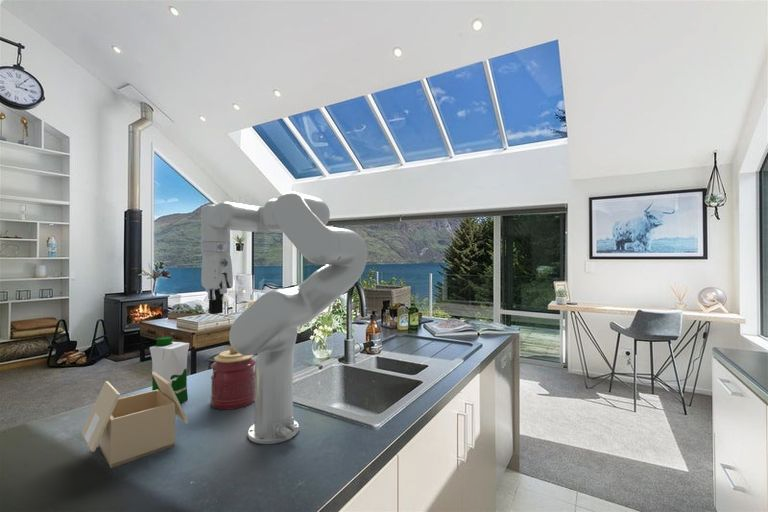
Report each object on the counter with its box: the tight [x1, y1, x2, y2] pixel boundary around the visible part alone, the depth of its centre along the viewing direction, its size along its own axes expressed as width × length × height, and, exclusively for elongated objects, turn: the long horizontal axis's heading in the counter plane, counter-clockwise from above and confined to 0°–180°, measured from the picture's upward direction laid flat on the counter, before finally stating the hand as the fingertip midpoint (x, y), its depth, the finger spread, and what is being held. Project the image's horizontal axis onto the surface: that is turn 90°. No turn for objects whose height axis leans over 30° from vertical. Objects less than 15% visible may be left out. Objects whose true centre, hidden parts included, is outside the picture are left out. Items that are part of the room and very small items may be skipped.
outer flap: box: [80, 380, 121, 452], centre depth 82 cm, size 12×12×1 cm
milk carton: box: [149, 336, 190, 404], centre depth 113 cm, size 9×9×20 cm
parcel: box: [98, 390, 176, 469], centre depth 87 cm, size 13×12×10 cm
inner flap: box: [151, 372, 189, 424], centre depth 92 cm, size 12×12×1 cm
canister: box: [210, 345, 256, 410], centre depth 114 cm, size 13×13×18 cm
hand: (215, 313), depth 104 cm, fingers closed
